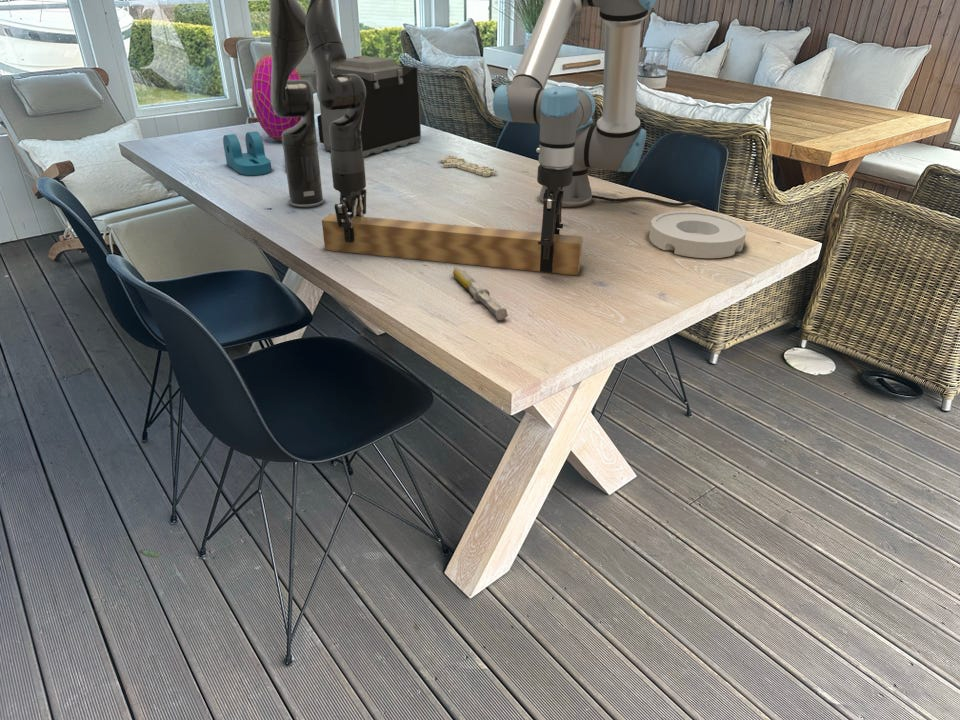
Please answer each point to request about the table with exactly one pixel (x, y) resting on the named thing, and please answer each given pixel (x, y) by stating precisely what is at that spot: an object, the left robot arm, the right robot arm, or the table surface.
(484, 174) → the decorative sign
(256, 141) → the camera mount
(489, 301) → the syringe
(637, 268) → the table surface
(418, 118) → the cooler box
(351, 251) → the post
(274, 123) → the decorative egg
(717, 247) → the ashtray
